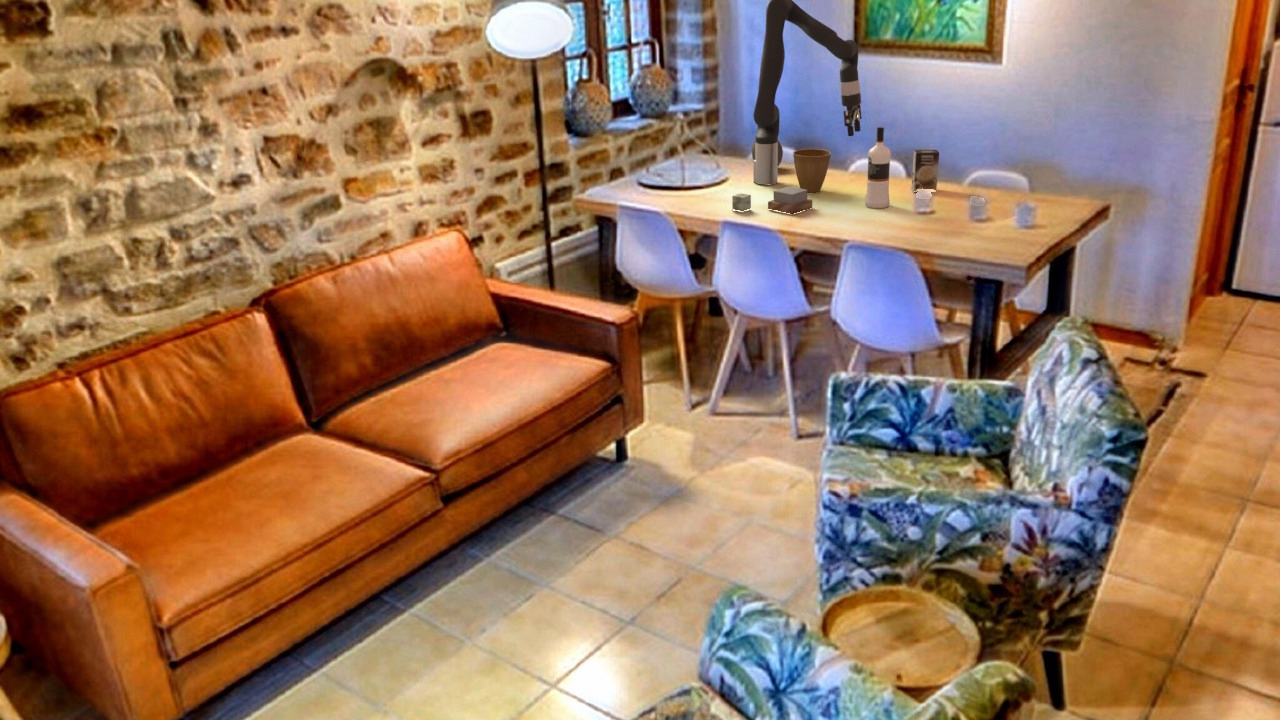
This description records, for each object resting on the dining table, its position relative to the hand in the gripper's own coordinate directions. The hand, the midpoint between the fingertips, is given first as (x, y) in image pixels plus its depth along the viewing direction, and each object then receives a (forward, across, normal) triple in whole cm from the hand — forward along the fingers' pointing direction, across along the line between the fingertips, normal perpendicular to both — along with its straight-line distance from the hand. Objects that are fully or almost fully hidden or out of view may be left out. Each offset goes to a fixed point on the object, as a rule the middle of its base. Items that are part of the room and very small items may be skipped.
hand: (854, 133), depth 427 cm
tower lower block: (+20, +39, -15) cm, 47 cm away
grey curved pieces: (+17, -20, -48) cm, 55 cm away
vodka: (+24, +24, +14) cm, 37 cm away
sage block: (+18, +47, -32) cm, 59 cm away
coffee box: (+26, -4, +25) cm, 36 cm away
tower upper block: (+16, +39, -14) cm, 45 cm away
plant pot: (+20, +10, -17) cm, 28 cm away
